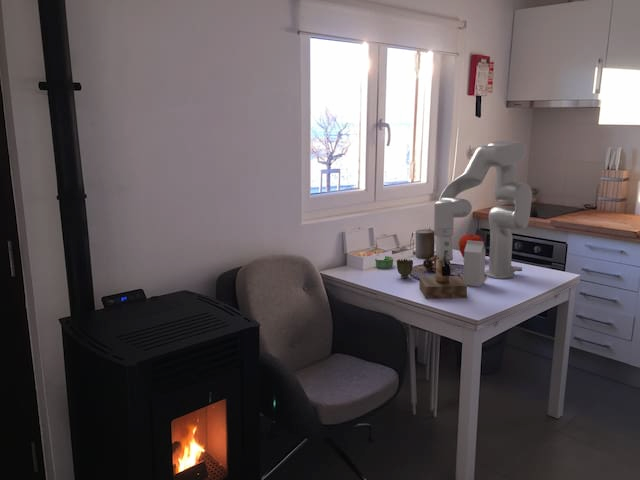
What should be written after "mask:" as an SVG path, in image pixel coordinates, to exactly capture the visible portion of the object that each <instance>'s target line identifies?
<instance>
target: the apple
mask: <svg viewBox="0 0 640 480" xmlns="http://www.w3.org/2000/svg"><path fill="white" fill-rule="evenodd" d="M467 240H469V241H480V242H484V239H483V238H482V236H480V235H477V234H464V235H463V236H462V237H460V238H459V240H458V247H459V248H458V249H459V252H460V253H461V257H462V258H463V259H464V250H465V247H466V244H467Z"/></svg>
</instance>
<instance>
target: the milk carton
mask: <svg viewBox="0 0 640 480" xmlns="http://www.w3.org/2000/svg"><path fill="white" fill-rule="evenodd" d="M485 271H486V247H485V242H484V241H483V242H480V241H469V240H467V244H466V247H465V250H464V258H463V277H462V278H463V279H462V281H463V282H464V283H465V284H466V285H467V286H471V287H477V288H478V287H479V288H480V287H482V285H483V284H484V283H485V277H486V275H485Z"/></svg>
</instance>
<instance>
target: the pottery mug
mask: <svg viewBox="0 0 640 480" xmlns="http://www.w3.org/2000/svg"><path fill="white" fill-rule="evenodd" d="M436 260H437V255H436V254H434V257H431V258H429V259H424V260H423V262H422V264H423V267H424V268H425V270H426V269H427V270H428V271H430V270H431V268H430V267H432V268H433V266H434V264H435V265H436ZM427 270H426V271H427Z"/></svg>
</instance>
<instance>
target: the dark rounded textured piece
mask: <svg viewBox="0 0 640 480" xmlns="http://www.w3.org/2000/svg"><path fill="white" fill-rule="evenodd" d="M413 264H414V261H413V259H407V258H406V259H405V258H404V259H402V258H401V259H398V260H396V268H397V272H398V274H400V278H401V279H403V280H404V279H408V278H410V276H409V275H410V274H411V273H412V272H413V268H414V267H413V266H414V265H413Z"/></svg>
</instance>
